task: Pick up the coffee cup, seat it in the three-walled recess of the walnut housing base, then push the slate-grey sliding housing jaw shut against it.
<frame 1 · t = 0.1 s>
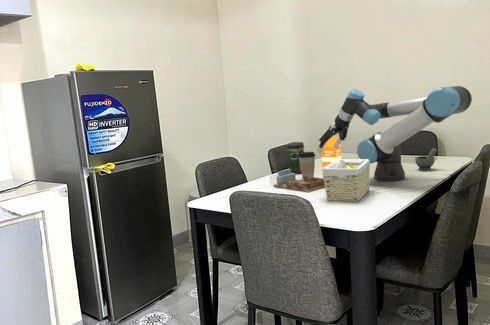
hand: (326, 150, 230), 15 cm above the table, tool tilted 35°, fingers open, 13 cm apart
mortar and pestle: (426, 170, 232), on the table
coffee jar: (297, 173, 254), on the table
orange juice: (332, 170, 253), on the table
housing jaw: (286, 176, 223), point 5 cm above the table, slide at 0.0 cm
storage basket: (348, 195, 190), on the table
housing base: (301, 186, 216), on the table
coffee cup: (308, 180, 231), on the table
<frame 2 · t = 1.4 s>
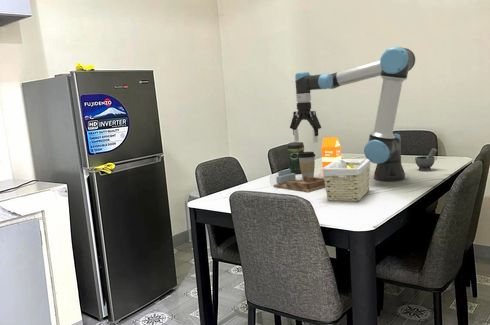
hand: (305, 142, 228), 21 cm above the table, tool pointing down, fingers open, 13 cm apart
nothing on the table moved.
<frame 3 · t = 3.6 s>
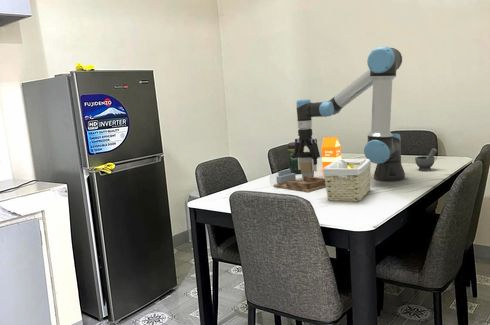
hand: (307, 169, 230), 6 cm above the table, tool pointing down, fingers closed on coffee cup, 9 cm apart
coffee cup: (308, 180, 231), on the table, touching gripper
everything else where it was.
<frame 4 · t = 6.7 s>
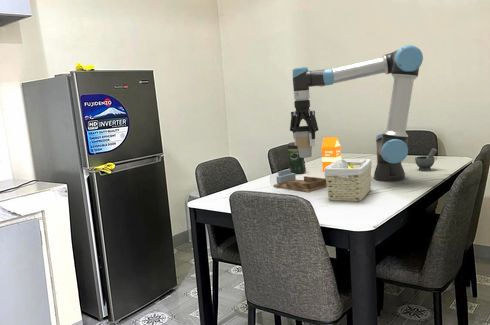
hand: (304, 145, 210), 21 cm above the table, tool pointing down, fingers closed on coffee cup, 9 cm apart
coffee cup: (305, 157, 211), point 15 cm above the table, touching gripper
when the fingers open (7 cm above the table, at t = 10.1 s): coffee cup stays where it is, resting on housing base.
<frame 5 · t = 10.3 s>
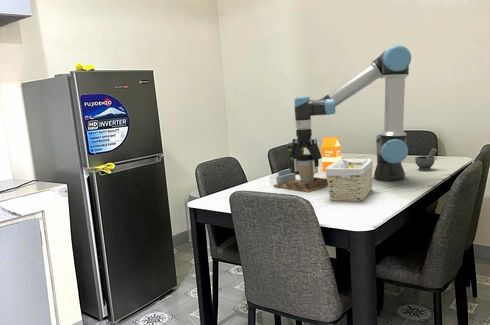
hand: (306, 172, 212), 8 cm above the table, tool pointing down, fingers open, 11 cm apart
coffee cup: (307, 185, 213), point 1 cm above the table, touching housing base
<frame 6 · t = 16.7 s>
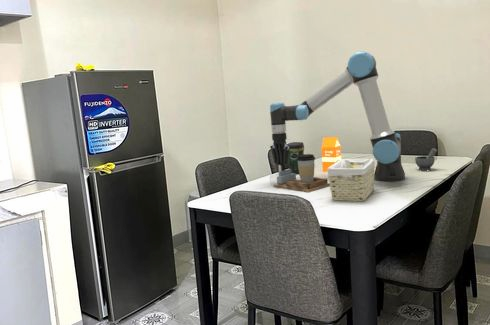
hand: (282, 176, 226), 4 cm above the table, tool pointing down, fingers closed
housing jaw: (286, 176, 223), point 5 cm above the table, slide at 0.3 cm, touching gripper
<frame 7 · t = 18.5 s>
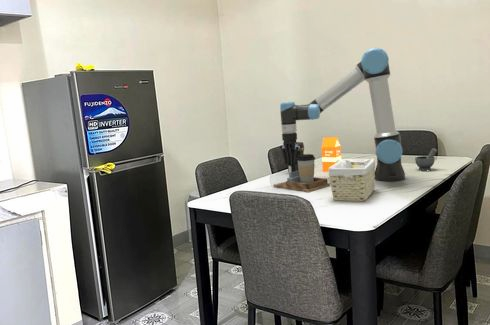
hand: (292, 177, 220), 4 cm above the table, tool pointing down, fingers closed
housing jaw: (296, 177, 218), point 5 cm above the table, slide at 7.8 cm, touching gripper
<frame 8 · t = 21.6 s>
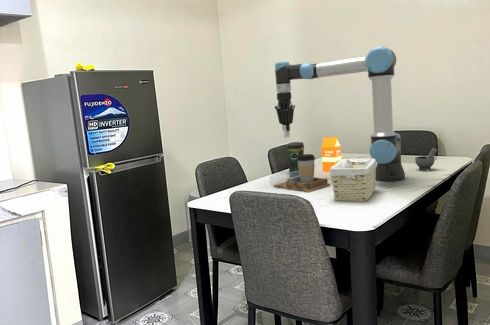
hand: (286, 137, 226), 24 cm above the table, tool pointing down, fingers closed
housing jaw: (296, 177, 218), point 5 cm above the table, slide at 7.8 cm
at the end: coffee cup inside the target area on the housing base (0.2 cm from its centre), point 1.0 cm above the housing base's base; coffee cup tilted 0°; housing jaw slide at 7.8 cm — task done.
